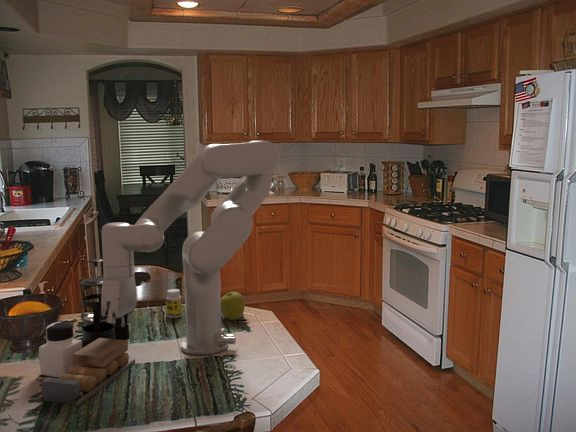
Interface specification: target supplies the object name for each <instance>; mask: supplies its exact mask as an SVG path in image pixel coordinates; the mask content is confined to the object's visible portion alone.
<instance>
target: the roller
mask: <svg viewBox="0 0 576 432" xmlns="http://www.w3.org/2000/svg"><path fill="white" fill-rule="evenodd" d="M57 378H59V379H68V380H77V381H80V392H82V393H89V392H90V391H91V390H93V389H94V388H95V387H97V386H98V384H97V378H96V377H94V376H83V375H73V374H61V375H60V376H59V377H57Z"/></svg>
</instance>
